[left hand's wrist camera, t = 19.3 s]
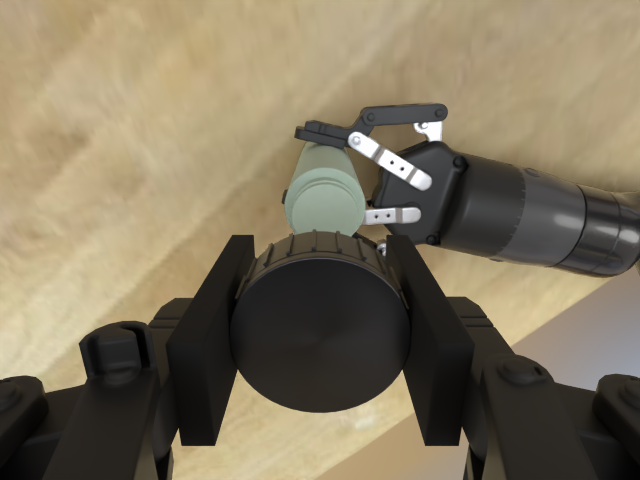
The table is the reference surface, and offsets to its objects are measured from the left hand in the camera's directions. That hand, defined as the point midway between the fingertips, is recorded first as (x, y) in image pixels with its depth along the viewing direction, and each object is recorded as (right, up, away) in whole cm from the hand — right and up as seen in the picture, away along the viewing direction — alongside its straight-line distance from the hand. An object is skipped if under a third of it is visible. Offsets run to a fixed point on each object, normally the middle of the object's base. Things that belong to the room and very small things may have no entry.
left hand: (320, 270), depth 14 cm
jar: (0, +9, +22) cm, 24 cm away
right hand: (-2, +7, +16) cm, 17 cm away
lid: (0, -1, -4) cm, 4 cm away
